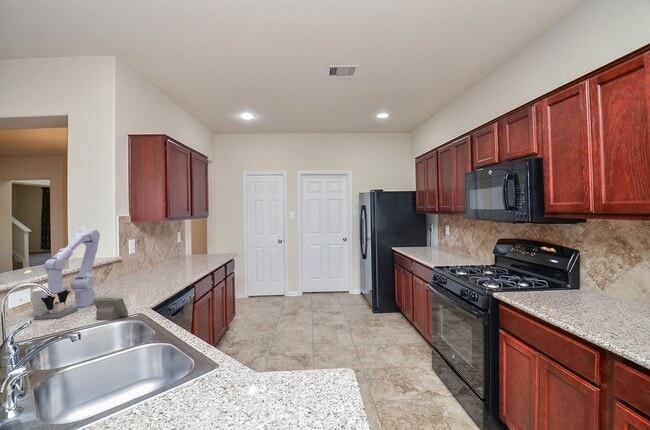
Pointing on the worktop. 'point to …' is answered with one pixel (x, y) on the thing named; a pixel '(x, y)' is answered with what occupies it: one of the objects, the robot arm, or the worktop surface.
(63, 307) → the plug
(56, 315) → the socket plate
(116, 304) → the digital clock
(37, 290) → the small box
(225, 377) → the worktop surface
